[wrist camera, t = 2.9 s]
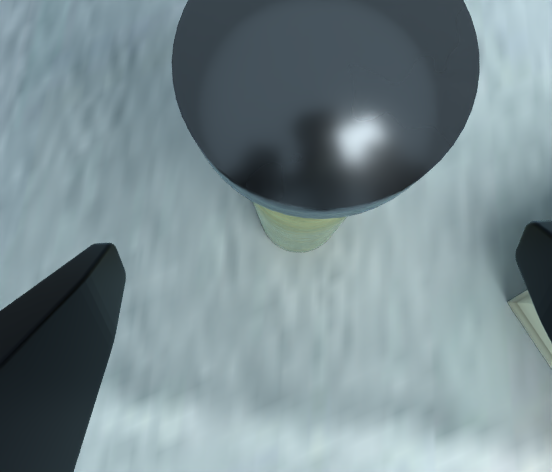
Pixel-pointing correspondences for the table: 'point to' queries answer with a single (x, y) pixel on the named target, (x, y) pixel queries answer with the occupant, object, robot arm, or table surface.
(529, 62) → the table surface
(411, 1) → the brass pin
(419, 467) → the table surface
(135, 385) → the table surface
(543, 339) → the socket block
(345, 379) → the table surface
